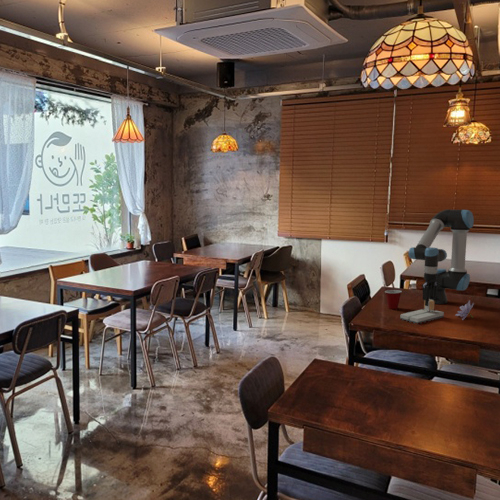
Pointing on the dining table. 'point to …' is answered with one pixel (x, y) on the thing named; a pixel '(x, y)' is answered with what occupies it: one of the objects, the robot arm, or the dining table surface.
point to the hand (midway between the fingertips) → (429, 310)
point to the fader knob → (430, 305)
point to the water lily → (465, 310)
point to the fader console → (421, 316)
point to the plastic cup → (393, 298)
